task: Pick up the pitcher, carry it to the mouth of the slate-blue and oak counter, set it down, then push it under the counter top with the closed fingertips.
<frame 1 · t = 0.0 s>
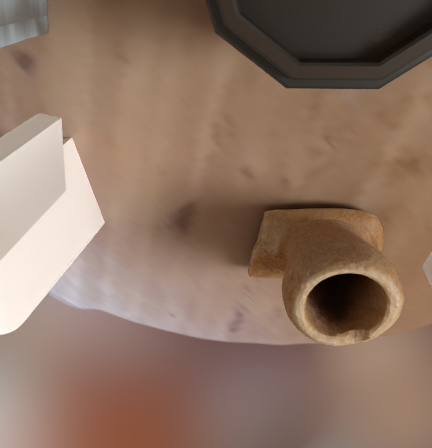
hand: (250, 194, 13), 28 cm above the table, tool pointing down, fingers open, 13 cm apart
milk: (45, 186, 49), on the table
stone cup: (313, 229, 47), on the table
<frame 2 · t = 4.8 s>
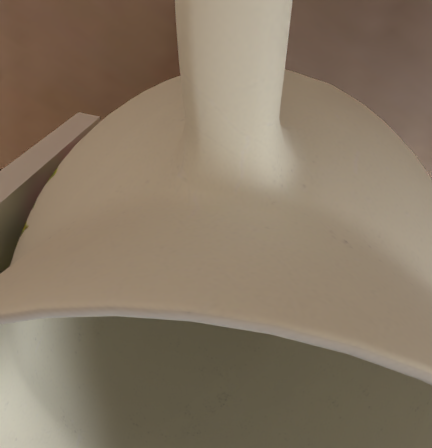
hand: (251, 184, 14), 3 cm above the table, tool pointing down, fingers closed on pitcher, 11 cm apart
pitcher: (253, 147, 16), on the table, touching gripper
when the fingers open (4 cm above the table, at t = 9.9 s): pitcher drops 1 cm, on the table.
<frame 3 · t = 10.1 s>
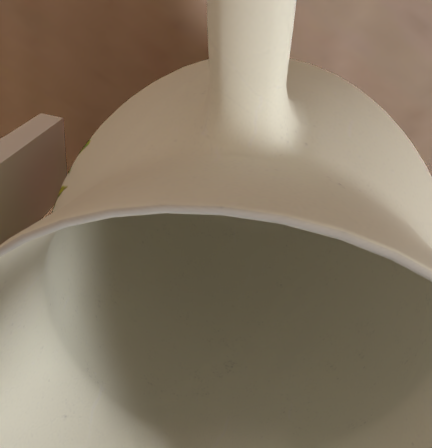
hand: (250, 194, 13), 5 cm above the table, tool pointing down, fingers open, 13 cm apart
pitcher: (258, 136, 18), on the table
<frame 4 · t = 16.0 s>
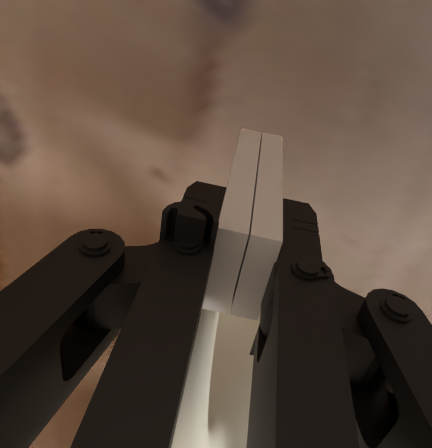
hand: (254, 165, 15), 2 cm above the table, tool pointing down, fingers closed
pitcher: (232, 310, 23), on the table, touching gripper
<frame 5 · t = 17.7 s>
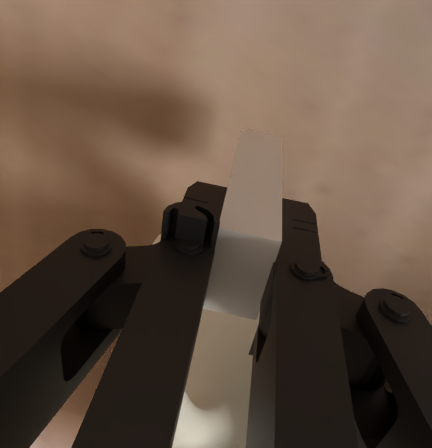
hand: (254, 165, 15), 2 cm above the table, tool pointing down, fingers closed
pitcher: (259, 296, 22), on the table
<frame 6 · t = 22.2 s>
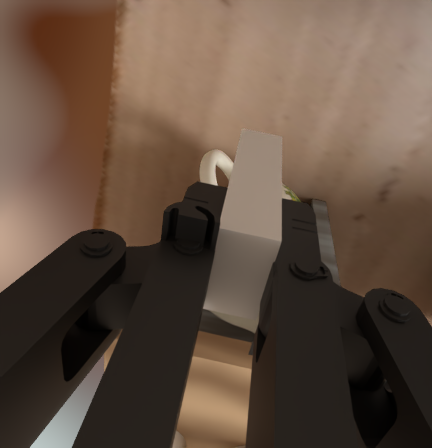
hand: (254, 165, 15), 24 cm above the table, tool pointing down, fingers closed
white ceramic cup: (154, 439, 31), point 23 cm above the table, touching counter
counter: (239, 243, 48), on the table
pitcher: (255, 196, 44), on the table
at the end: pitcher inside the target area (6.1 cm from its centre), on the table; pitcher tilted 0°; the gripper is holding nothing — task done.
